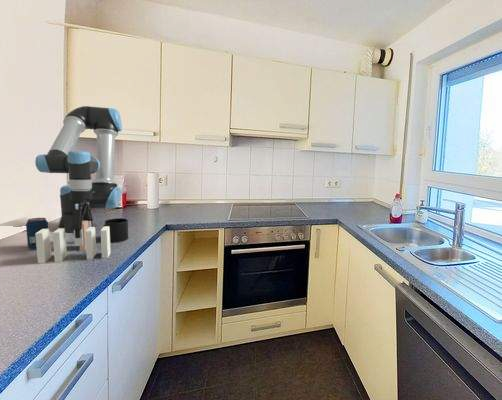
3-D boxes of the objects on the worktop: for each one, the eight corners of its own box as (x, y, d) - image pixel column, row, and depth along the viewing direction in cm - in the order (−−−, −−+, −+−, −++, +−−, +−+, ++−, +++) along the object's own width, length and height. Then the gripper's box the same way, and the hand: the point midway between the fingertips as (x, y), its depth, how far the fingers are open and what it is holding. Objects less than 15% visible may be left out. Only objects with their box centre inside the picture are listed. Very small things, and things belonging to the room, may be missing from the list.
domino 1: (38, 263, 91) (35, 233, 90) (44, 257, 97) (42, 228, 95) (44, 262, 92) (42, 233, 90) (51, 256, 98) (49, 228, 96)
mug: (110, 235, 126) (109, 217, 125) (132, 237, 124) (132, 219, 123) (95, 240, 117) (94, 221, 116) (119, 243, 115) (118, 223, 114)
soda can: (36, 244, 109) (34, 217, 107) (53, 244, 110) (51, 217, 108) (23, 250, 102) (20, 221, 100) (42, 250, 103) (39, 221, 101)
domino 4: (86, 259, 96) (85, 231, 95) (90, 253, 102) (89, 227, 100) (92, 259, 97) (91, 231, 95) (96, 253, 103) (95, 226, 101)
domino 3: (79, 250, 105) (78, 224, 103) (83, 245, 110) (82, 220, 109) (85, 250, 106) (83, 224, 104) (89, 245, 111) (87, 220, 109)
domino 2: (54, 262, 93) (52, 232, 91) (60, 256, 99) (58, 228, 97) (61, 261, 94) (59, 232, 92) (66, 255, 99) (64, 228, 97)
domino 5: (101, 258, 98) (100, 230, 96) (104, 252, 104) (103, 226, 102) (107, 258, 99) (106, 230, 97) (110, 252, 104) (109, 226, 103)
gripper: (79, 186, 114) (81, 232, 118) (58, 193, 91) (62, 251, 94) (98, 186, 117) (100, 231, 120) (83, 193, 94) (86, 249, 97)
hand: (83, 240), depth 107 cm, fingers open, 13 cm apart
